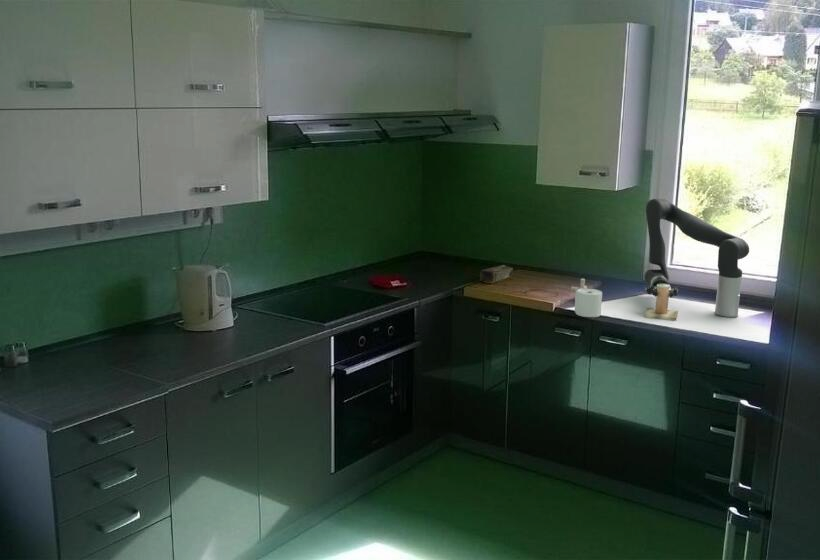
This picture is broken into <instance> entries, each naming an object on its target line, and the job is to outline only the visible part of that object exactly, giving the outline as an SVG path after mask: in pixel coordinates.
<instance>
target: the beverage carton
mask: <svg viewBox="0 0 820 560" xmlns="http://www.w3.org/2000/svg"><path fill="white" fill-rule="evenodd" d="M510 276H512V277H513V276H514V268H513V267H511V266H507V265H505V264H502V265H497V266H494V267H489V268H486V269H481V270H480V273H479V282H480V281H487V282H494V281H498V280H501V279H505V278H507V277H510Z"/></svg>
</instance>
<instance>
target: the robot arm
mask: <svg viewBox="0 0 820 560" xmlns="http://www.w3.org/2000/svg"><path fill="white" fill-rule="evenodd" d="M645 214H646V215H645V216H646V222H647V229H648V237H649V238H648V239H649V248H648V249H649V251H648V253H649V254H648V256H649V258H648V259H649V263H650V265H655V266H658V267H659V268H660V269H648V270H646V272H645V273H644V280H645V283H646V285H645V289H644V292H646V293H647V295H653V296H654V297H655V298H657V284H668V285H670V283H669V279H670V278H669V273H668V270H667V266H666V265H667V264H666V244H665V239H664V237H663V235H662V230H661V220H664V221H667V222H669V223H672V224H674V225H676V226H677V228H678V229H679V230H680V231H681V232H682V234H684V235H686V236H687V237H689V238H691V239H692V240H695V241H697V242H699V243H703V244H708V245H711V246H715V247H717V248H718V253H717V254H718V255H717V269H718V278H717V279H718V281H717V289H716V297H715V298H716V299H715V308H714V314H715V315H717V316H719V317H726V318H737V317H739V307H740V299H741V286H742V277H743V270H742V269H741V268H739V264H738V263H739V260H742V259H744V258H746V257H747V256H748V255H749V253H750V247H749V244H748V243H747V242H746V241H745V240H744V239H743V238H741V237H738V236H735V235H733V234H731V233H728V232H726V231H724V230H722V229H720V228H718V227H716V226H715V225H713V224H711V223H709V222H707V221H705V220H704V219H702V218H700V217H698V216H695V215H694V214H692V213H690V212H687V211H685V210H683V209H682V208H679V207H678V206H677V205H675V204H673V203H672V202H671V201H669V200H667V199H664V198H652V199H649V201H647V203H646V207H645ZM678 291H679V288H678V286H675V287H671V286H670V289H669V298H673V297H674V296H675V297H676V296H678Z"/></svg>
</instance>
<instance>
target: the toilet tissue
mask: <svg viewBox="0 0 820 560" xmlns="http://www.w3.org/2000/svg"><path fill="white" fill-rule="evenodd" d="M574 296H575V297H574V298H575V299H574V313H575V314H576V315H577V316H580V317H585V318H598V317H600V316H601V315H602V303H603V302H602V301H603V291H602V290H599V289H596V288H593V289H592V288H587V289H579V290H577V291H575V295H574Z"/></svg>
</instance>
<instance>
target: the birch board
mask: <svg viewBox="0 0 820 560" xmlns="http://www.w3.org/2000/svg"><path fill="white" fill-rule="evenodd" d="M655 309H656V307H647V308H646V310H645V312H644V315H643V317H644V318H649V319H657V318H658V320H666V319H668V321H675V320H676V321H677V318H678V315H679V310H675V309H674V310H673V309H668V312H667V313H666V314H661V313H656V312H655Z"/></svg>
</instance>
